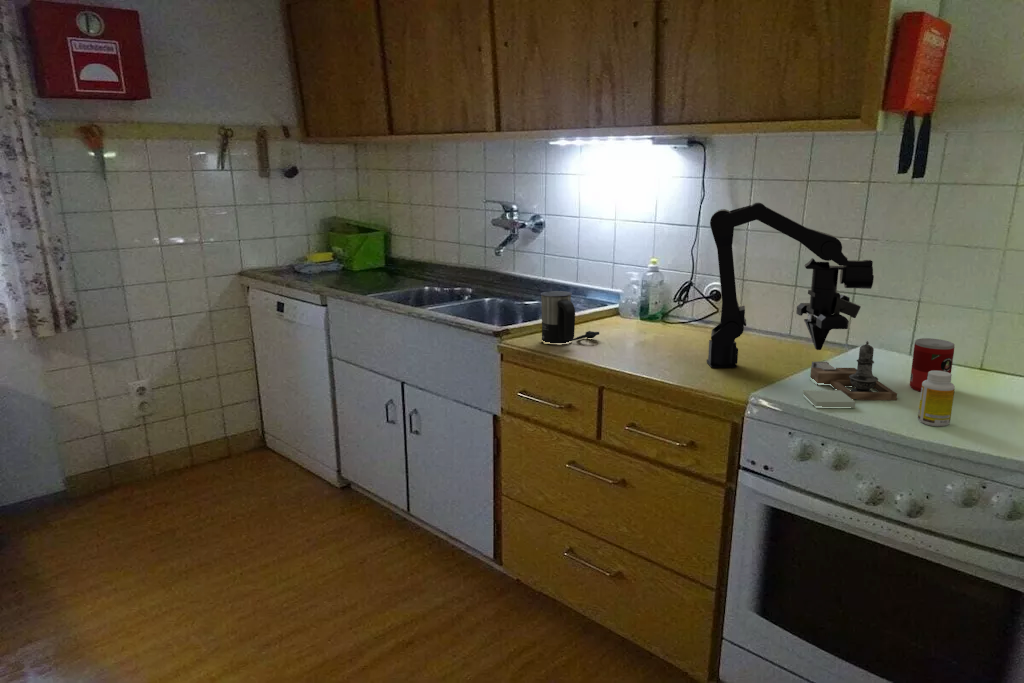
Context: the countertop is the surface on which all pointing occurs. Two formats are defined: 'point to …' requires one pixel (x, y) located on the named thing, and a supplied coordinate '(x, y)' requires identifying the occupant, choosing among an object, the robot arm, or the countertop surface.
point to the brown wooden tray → (842, 379)
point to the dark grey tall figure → (864, 371)
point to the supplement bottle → (936, 399)
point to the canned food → (930, 359)
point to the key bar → (823, 366)
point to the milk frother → (559, 318)
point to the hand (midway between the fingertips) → (818, 349)
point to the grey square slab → (829, 398)
